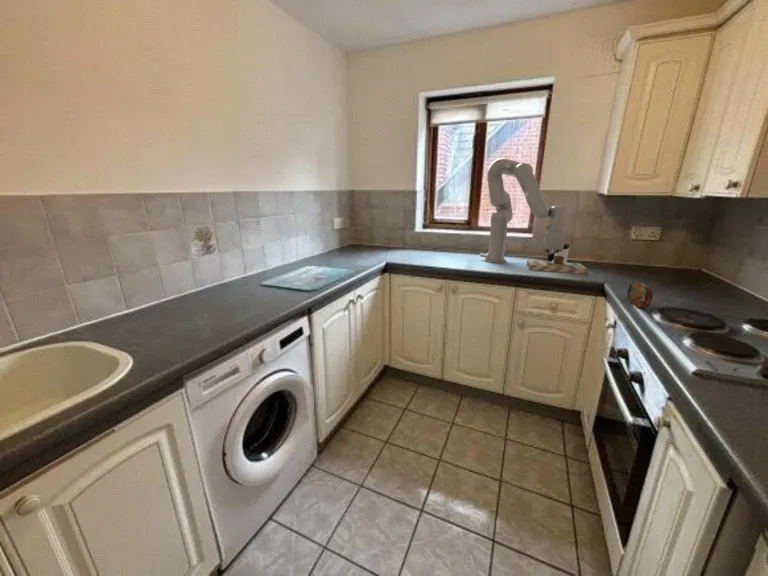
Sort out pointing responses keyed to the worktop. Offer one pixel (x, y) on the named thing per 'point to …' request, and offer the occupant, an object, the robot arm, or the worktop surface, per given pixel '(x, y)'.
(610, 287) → the worktop surface
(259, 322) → the worktop surface
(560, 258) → the block
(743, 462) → the worktop surface
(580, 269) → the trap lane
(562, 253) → the jar
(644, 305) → the tin
